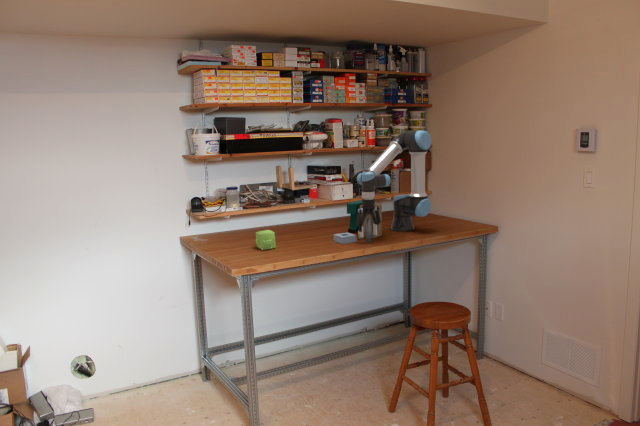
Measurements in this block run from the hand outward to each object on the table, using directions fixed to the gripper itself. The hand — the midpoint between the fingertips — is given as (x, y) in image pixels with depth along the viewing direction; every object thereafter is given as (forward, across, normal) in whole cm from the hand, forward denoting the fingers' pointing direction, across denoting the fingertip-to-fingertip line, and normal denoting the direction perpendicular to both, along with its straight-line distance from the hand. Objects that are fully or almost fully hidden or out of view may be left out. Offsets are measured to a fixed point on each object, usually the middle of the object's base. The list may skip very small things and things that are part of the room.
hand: (368, 236), depth 309 cm
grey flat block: (+3, +11, -9) cm, 15 cm away
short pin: (+4, -1, -10) cm, 11 cm away
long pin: (+3, 0, 0) cm, 3 cm away
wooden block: (+4, -10, -12) cm, 16 cm away
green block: (+4, +58, -22) cm, 62 cm away
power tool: (+4, -16, -30) cm, 34 cm away
